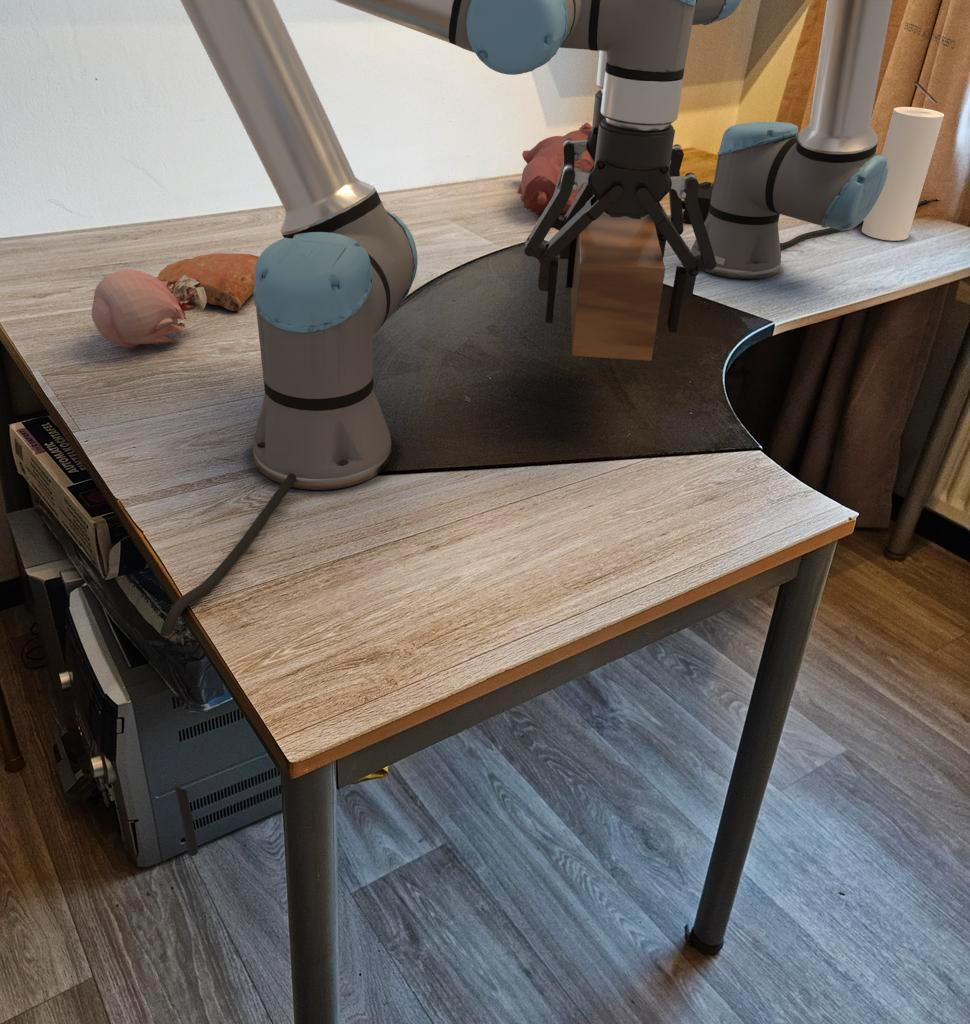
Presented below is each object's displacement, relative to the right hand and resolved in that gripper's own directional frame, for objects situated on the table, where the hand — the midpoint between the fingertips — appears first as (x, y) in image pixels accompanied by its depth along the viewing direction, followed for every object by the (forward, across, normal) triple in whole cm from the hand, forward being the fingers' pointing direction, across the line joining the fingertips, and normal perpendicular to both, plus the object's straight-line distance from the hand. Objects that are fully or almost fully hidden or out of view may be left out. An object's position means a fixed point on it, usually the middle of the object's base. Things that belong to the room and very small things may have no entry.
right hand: (607, 286), depth 119 cm
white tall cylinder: (+14, -57, -73) cm, 93 cm away
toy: (+14, -26, -84) cm, 89 cm away
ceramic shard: (+13, +58, -22) cm, 63 cm away
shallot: (+13, +60, -3) cm, 62 cm away
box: (+2, 0, +7) cm, 7 cm away
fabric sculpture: (+14, +2, -79) cm, 80 cm away
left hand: (-1, 0, +14) cm, 15 cm away
